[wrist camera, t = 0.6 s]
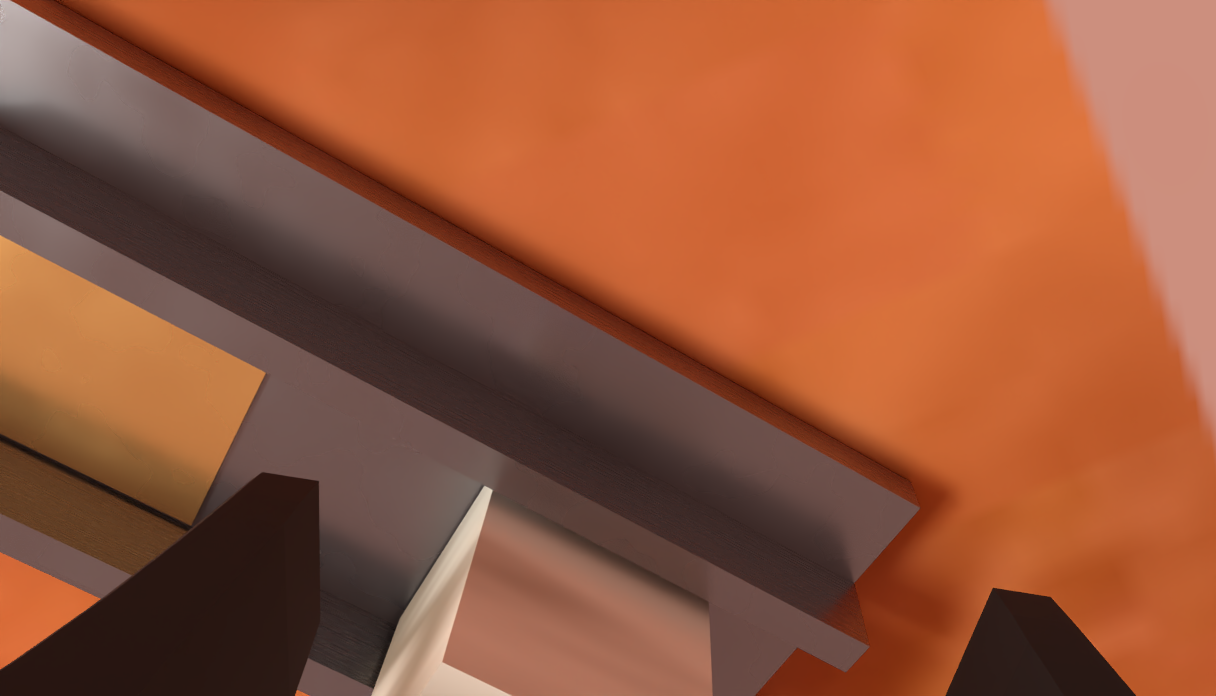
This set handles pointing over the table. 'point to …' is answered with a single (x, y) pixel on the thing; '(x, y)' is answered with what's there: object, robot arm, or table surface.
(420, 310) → the chute
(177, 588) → the robot arm
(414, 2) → the table surface
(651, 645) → the block
